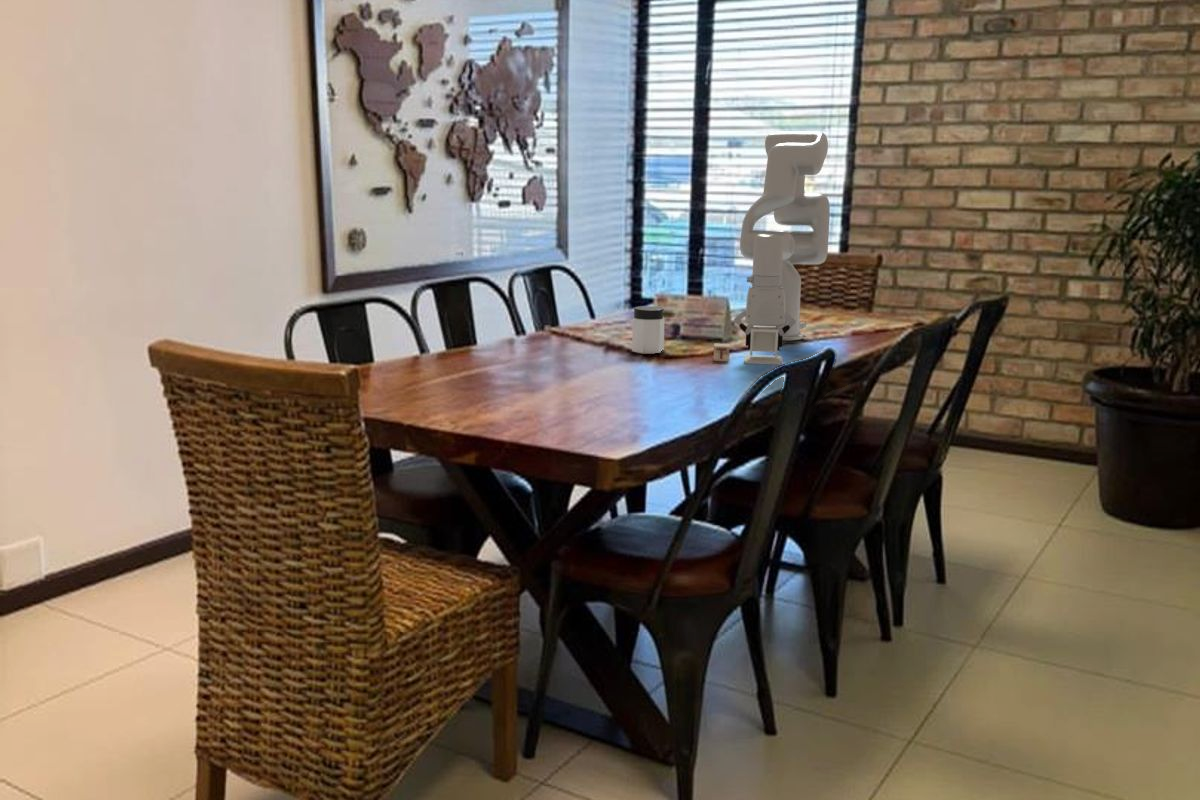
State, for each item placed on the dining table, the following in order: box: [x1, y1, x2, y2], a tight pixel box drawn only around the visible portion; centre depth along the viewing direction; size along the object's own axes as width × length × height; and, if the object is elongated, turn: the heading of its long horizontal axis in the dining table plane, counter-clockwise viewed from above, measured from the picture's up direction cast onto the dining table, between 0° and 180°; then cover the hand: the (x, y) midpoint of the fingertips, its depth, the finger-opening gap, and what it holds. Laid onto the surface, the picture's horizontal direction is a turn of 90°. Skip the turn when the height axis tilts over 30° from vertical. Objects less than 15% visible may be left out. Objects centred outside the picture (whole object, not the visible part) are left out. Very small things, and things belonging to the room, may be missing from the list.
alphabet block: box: [749, 326, 778, 357], centre depth 271 cm, size 7×7×7 cm
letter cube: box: [713, 343, 730, 362], centre depth 273 cm, size 4×4×4 cm
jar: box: [631, 305, 666, 355], centre depth 282 cm, size 9×8×12 cm
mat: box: [743, 354, 784, 366], centre depth 272 cm, size 10×10×1 cm
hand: (763, 348), depth 272 cm, fingers closed on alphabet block, 6 cm apart
